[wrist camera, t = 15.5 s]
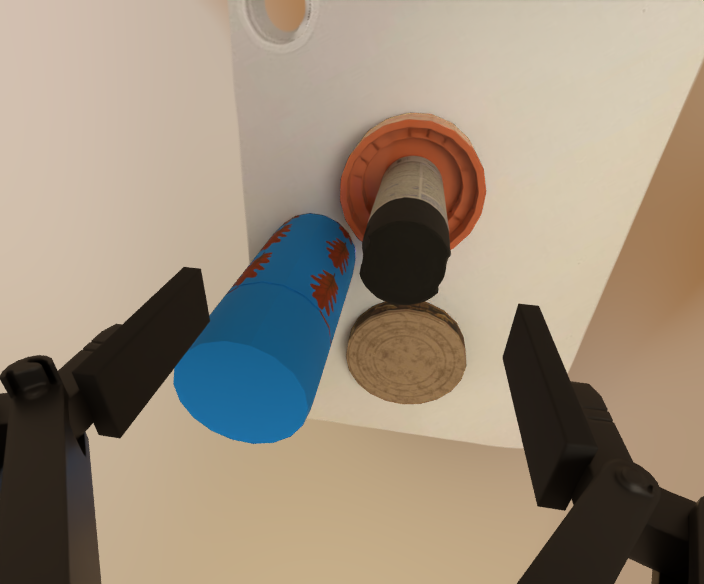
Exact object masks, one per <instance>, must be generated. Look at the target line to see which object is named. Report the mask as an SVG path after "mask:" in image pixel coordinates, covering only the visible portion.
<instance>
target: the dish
mask: <svg viewBox="0 0 704 584" xmlns="http://www.w3.org/2000/svg"><path fill="white" fill-rule="evenodd" d="M406 156H420V157H423V158H426V159H428V160H429V161H431V162H432V163H433V164H434V165H435V166H436V167H437V168H438V170H439V172H440V174H441V176H442V180H443V188H444V196H445V204H446V212H447V219H448V227H449V238H450V250H451V249H453V248H454V247H456V246H457V245H458V244H459V243H460V242H461V241H462V240H463V239H464V238H466V237H467V236H468V235H469V234H470V233H471V231H472V229H473V227H474V226H475V224H476V222H477V221H478V219H479V217H480V216H481V213H482V209H483V204H484V200H485V196H486V185H485V176H484V169H483V167H482V165H481V162H480V160H479V158H478V156H477V154H476V152H475V150H474V148H473V146H472V144H471V142H470V140H469V138H468V137H467V136H466V135H465V134H463V133H462V132H461V131H460V130H459V129H458V128H457V127H456V126H455V125H454V124H453V123H451V122H449V121H446V120H444V119H442V118H440V117H437V116H435V115H432V114H423V113H406V114H402V115H398V116H394V117H391V118H388V119H386V120H384V121H383V122H381V123H379V124H378V125H376V126H375V127H373V128H372V129H370V130H369V131H368V132H367V133H366V135H365V136H364V137H363V138H362V140H361V141H360V142H359V143H358V145H357V146H356V147H355V149H354V150H353V152H352V153H351V155H350V156H349V158H348V160H347V163H346V166H345V169H344V171H343V174H342V177H341V187H340V202H341V206H342V209H343V213H344V216H345V220H346V222H347V223H348V225H349V226H350V228H351V229H352V231H353V232H354V234H355V235H356V237H357V238H358V239H359V240H360V241H362V242H363V237H364V233H365V230H366V227H367V224H368V220H369V217H370V214H371V211H372V208H373V205H374V202H375V199H376V196H377V193H378V190H379V187H380V184H381V181H382V178H383V176H384V173H385V172H386V170H387V169H388V167H389V166H390V165H391V164H392V163H394V162H395V161H396V160H398V159H400V158H403V157H406Z"/></svg>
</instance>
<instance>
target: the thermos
mask: <svg viewBox="0 0 704 584" xmlns="http://www.w3.org/2000/svg"><path fill="white" fill-rule="evenodd" d="M354 265H355V246H354V244H353V242H352V240H351V238H350V235H349V233H348V232H347V231H346V230H345V229H344V228H343V227H342V226H341V225H340V224H339V223H338V222H336V221H334V220H332V219H330V218H328V217H326V216H323V215H317V214H311V213H309V214H304V215H299V216H295V217H293V218H292V219H290V220H289V221H287V222H286V223H284V224H283V225H282V226H281V227H280V228H279V229H278V230H277V231H276V232H275V233H274V234H273V235H272V237H271V238H270V239H269V241H268V242H267V243H266V244H265V246H264V247H263V248H262V249H261V251H260V252H259V253H258V255H257V256H256V257H255V258H254V260H253V261H252V262H251V263H250V265H249V266H248V267H247V269H246V270H245V271H244V272H243V274H242V275H241V276H240V277H239V279H238V280H237V282H236V283H235V284H234V285H233V286H232V288H231V289H230V290H229V291H228V293H227V294H226V295H225V297H224V298H223V299H222V300H221V302H220V303H219V304H218V305H217V307H216V308H215V309H214V310H213V312H212V313H211V314H210V316H209V317H210V322H209V324H208V325H207V326H206V327H205V329H204V330H203V331H202V333H201V334H200V335H199V337H198V338H197V339H196V340H195V342H194V343H193V344H192V346H191V347H190V348H189V350H188V351H187V352H186V353H185V355H184V356H183V357H182V359H181V360H180V361H179V363H178V364H177V365H176V366H175V368H174V387H175V389H176V392H177V394H178V397H179V400H180V402H181V403H182V404H183V405H184V407H185V408H186V409H187V410H188V411H189V413H190V414H191V415H192V416H193V417H194V418H195V419H196V420H198V421H199V422H200V423H202V424H203V425H204V426H206V427H207V428H208V429H210V430H211V431H214V432H216V433H218V434H220V435H223V436H225V437H227V438H230V439H233V440H237V441H243V442H247V443H252V444H256V443H274V442H277V441H279V440H282V439H285V438H288V437H291V436H292V435H293V434H294V433H295V432H296V431H297V430H298V429H299V428H300V427H301V426H303V424H304V422H305V419H306V418H307V416H308V414H309V412H310V410H311V407H312V404H313V401H314V398H315V395H316V392H317V389H318V386H319V382H320V379H321V376H322V373H323V369H324V366H325V363H326V360H327V356H328V353H329V350H330V347H331V343H332V340H333V337H334V334H335V330H336V327H337V324H338V321H339V317H340V314H341V311H342V308H343V304H344V301H345V298H346V295H347V291H348V288H349V285H350V282H351V278H352V275H353V270H354Z"/></svg>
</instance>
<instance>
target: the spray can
mask: <svg viewBox="0 0 704 584" xmlns="http://www.w3.org/2000/svg"><path fill="white" fill-rule="evenodd" d="M362 250H363V261H362V264H361V269H360V273H359V274H360V277H361V279H362V281H363V283H364V285H365V286H366V287H367V288H368V289H369V290H370V292H371V293H373V294H374V295H375V296H376V297H377V298H379V299H381V300H383V301H386V302H389V303H391V304H396V305H413V304H418V303H422V302H424V301H426V300H428V299H430V298H432V297H433V296H434V295H436V294H437V293H438V286H439V284H440V283H441V281H442V280H443V278H444V275H445V271H446V264H447V261H448V258H449V257H450V255H451V251H450V238H449V227H448V219H447V212H446V204H445V196H444V188H443V180H442V176H441V174H440V172H439V170H438V168H437V167H436V166H435V165H434V164H433V163H432V162H431V161H429V160H428V159H426V158H423V157H420V156H406V157H403V158H400V159H398V160H396V161H395V162H394V163H392V164H391V165H390V166H389V167H388V169H387V170H386V172H385V173H384V176H383V178H382V181H381V184H380V187H379V190H378V193H377V196H376V199H375V202H374V205H373V208H372V211H371V214H370V217H369V220H368V224H367V227H366V230H365V233H364V237H363V243H362Z"/></svg>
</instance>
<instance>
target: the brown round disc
mask: <svg viewBox="0 0 704 584" xmlns="http://www.w3.org/2000/svg"><path fill="white" fill-rule="evenodd" d="M346 359H347V363H348V367H349V371H350V372H351V374H352V375H353V377H354V378H355V380H356V381H357V383H358V384H359V385H360V386H362V387H363V388H364V389H365V390H366V391H368V392H369V393H370V394H372V395H374V396H377V397H379V398H381V399H383V400H385V401H390V402H394V403H399V404H422V403H425V402H429V401H433V400H437V399H438V398H440V397H442V396H444V395H445V394H447V393H449V392H451V391H452V390H453V388H454V387H455V386H456V385H457V384H458V383H459V382H460V381H461V379H462V376H463V374H464V371H465V368H466V353H465V344H464V337H463V335H462V333H461V331H460V329H459V327H458V325H457V323H456V322H455V321H454V320H453V319H452V318H451V317H450V316H449V315H448V314H447V313H446V312H445V311H444V310H442V309H440V308H438V307H436V306H434V305H432V304H430V303H428V302H422V303H418V304H413V305H396V304H391V303H389V302H383V303H380V304H378V305H375V306H372V307H371V308H370V309H368V310H367V311H366V312H365V313H363V314H362V315H361V316H360V317H359V318H358V320H357V321H356V323H355V325H354V326H353V328H352V330H351V334H350V338H349V342H348V348H347V354H346Z"/></svg>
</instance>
